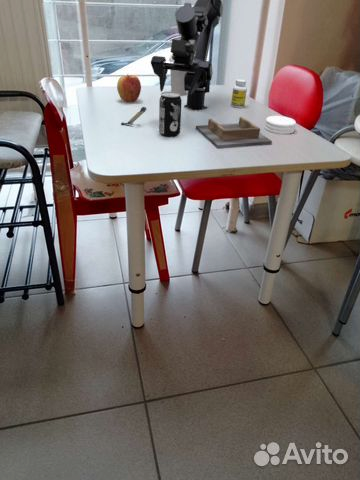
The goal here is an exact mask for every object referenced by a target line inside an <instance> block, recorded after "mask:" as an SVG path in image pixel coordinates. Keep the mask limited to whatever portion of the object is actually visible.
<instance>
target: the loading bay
mask: <svg viewBox="0 0 360 480" xmlns="http://www.w3.org/2000/svg"><path fill="white" fill-rule="evenodd" d="M207 120H208V122H207V125H206V124H203V125H195V130H196V131H197V132H199V134H200V135H202V136H203V137H204V139H206V140H207V141H208V142H210V143H211V144H212V146H213V147H215V148H216V149H227V148H228V149H229V148H242V147H243V148H245V147H253V146H266V145H267V146H268V145H269V146H270V145H272V144H273V141H272V140H271V139H270V138H268V137H267V136H266V135H264V134H263V133H261V128H260V127H258V126H257V125H256V124H254V123H252V122H250V121H249V120H248V119H246V118H245V117H243V116H240V117H239V121H238V123H218V122H217V121H215V120H214V119H213V118H208V119H207Z"/></svg>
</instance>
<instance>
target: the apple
mask: <svg viewBox="0 0 360 480" xmlns="http://www.w3.org/2000/svg"><path fill="white" fill-rule="evenodd" d="M141 84H142V83H141V80H140V78H139V77H138V76H137V75H133V74H132V75H131V74H130V75H129V73H127V75H122V76H120V77H119V79H118V80H117V83H116V88H117V89H116V90H117V92H118V93H117V94H118V96H119V98H120V99H121V101H123V102H124V103H135V102H136V101H137V100H138V99H139V97H140V95H141V92H142V85H141Z"/></svg>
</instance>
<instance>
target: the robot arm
mask: <svg viewBox="0 0 360 480" xmlns="http://www.w3.org/2000/svg"><path fill="white" fill-rule="evenodd" d="M223 6H224V5H223V1H222V0H196V1H195V3H194V5H193V6H192V3H191V2H190V3H189V2H185V3H184V4H183V6H180V7H178V9H176V11H175V13H174V18H175V21H176V26H177V32H178V34H179V35H180V38H179V39H172V41H171V45H170V46H171V47H170V53H172V54H173V55H172V54H171V55H172V59H173V60H174V62H170V61H167V59H166V57H165V56H161V55H160V56H158V55H155V56H152V57H151V59H150V65H151V68H152V70H153V74H155V75H156V76H157V77H158V79H159V90H160V92H161V93H163V92H164V91H163V90H164V88H165V84H166V80H167V77H168V76H167V74H168V70H178V71H181V72H187V73H185V77H184V88H185V91H187V94H186V95H187V96H186V104H184V105H183V106H184V108H187V109H189V110H194V111H199V110H204V109H207V108H208V106H206V105H205V100H206V99H205V98H206V94H207V93H210V90H211V89H210V88H211V87H210V86H211V85H210V84H211V83H210V81H212V77H213V74H214V73H213V64H212V62H211V61H210V60H209V61H208V59H207V58H208V55H209V50H210V45H211V41H212V36H213V31H214V29H215V28H216V27H217V26H218V25H219V22H220V19H221V17H222V16H223V10H224V7H223Z"/></svg>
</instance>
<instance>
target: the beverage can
mask: <svg viewBox="0 0 360 480" xmlns="http://www.w3.org/2000/svg"><path fill="white" fill-rule="evenodd" d="M182 101H183V99H182V98H181V95H180V94H179V93H176V92H171V91H162V92H161V93H160V97H159V102H158V103H159V104H158V105H159V107H158V108H159V109H158V111H159V113H158V115H159V116H158V117H159V118H158V132H159V133H160V136H162V137H164V138H175V137H178V136H179V134H180V133H181V125H182V124H181V121H182V120H181V119H182V104H183V103H182Z"/></svg>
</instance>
